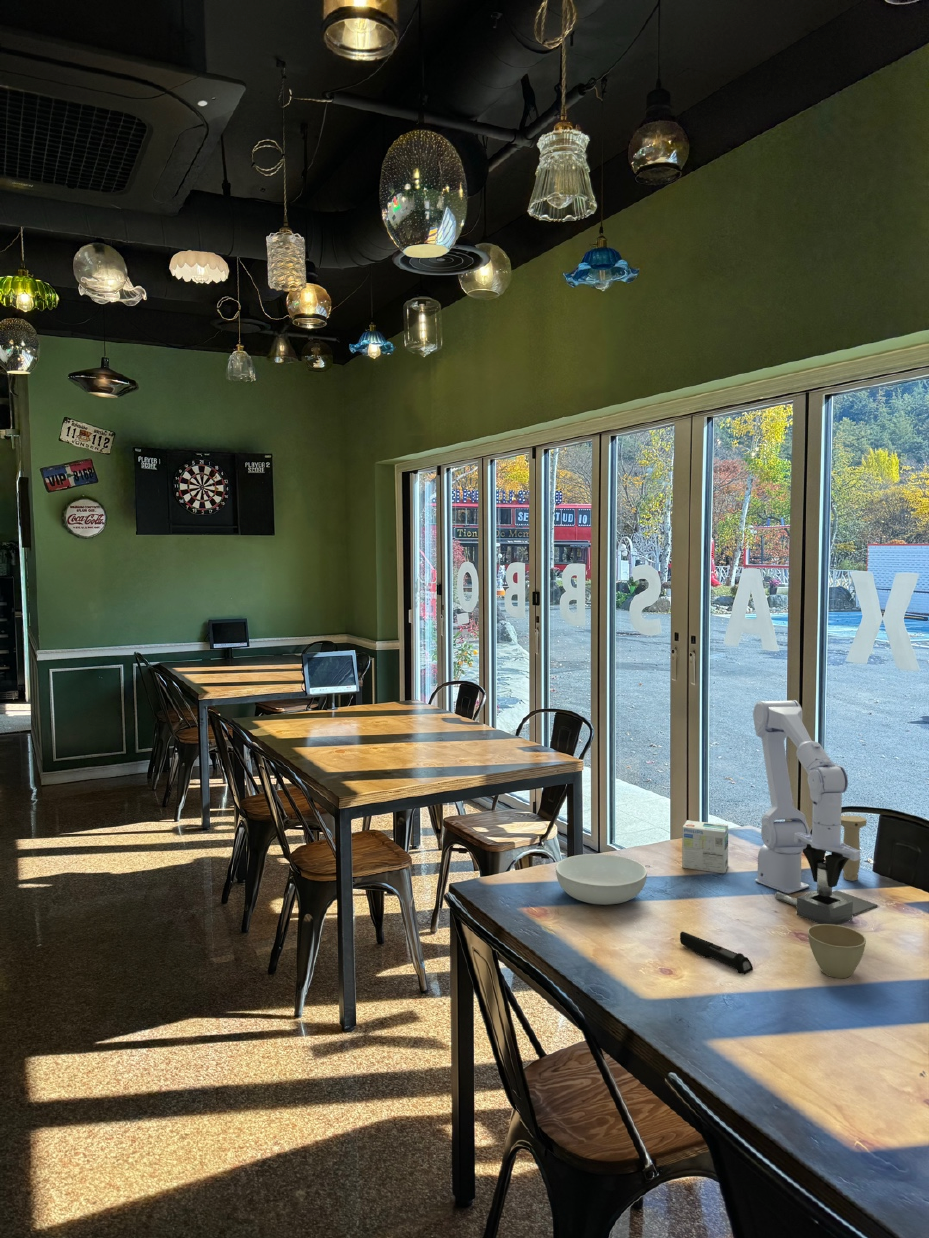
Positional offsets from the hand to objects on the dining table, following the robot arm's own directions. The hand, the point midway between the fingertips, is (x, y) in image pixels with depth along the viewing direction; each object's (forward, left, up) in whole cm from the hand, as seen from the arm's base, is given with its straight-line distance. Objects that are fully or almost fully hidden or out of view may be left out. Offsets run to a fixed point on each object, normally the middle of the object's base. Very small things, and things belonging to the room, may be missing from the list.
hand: (825, 883), depth 181 cm
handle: (-10, +25, -8) cm, 28 cm away
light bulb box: (-35, +2, -8) cm, 36 cm away
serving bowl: (-35, -33, -8) cm, 49 cm away
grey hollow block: (-4, 0, -8) cm, 8 cm away
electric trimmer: (0, -35, -8) cm, 36 cm away
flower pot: (+16, -20, -8) cm, 27 cm away
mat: (-2, +11, -8) cm, 13 cm away
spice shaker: (0, 0, -2) cm, 2 cm away
